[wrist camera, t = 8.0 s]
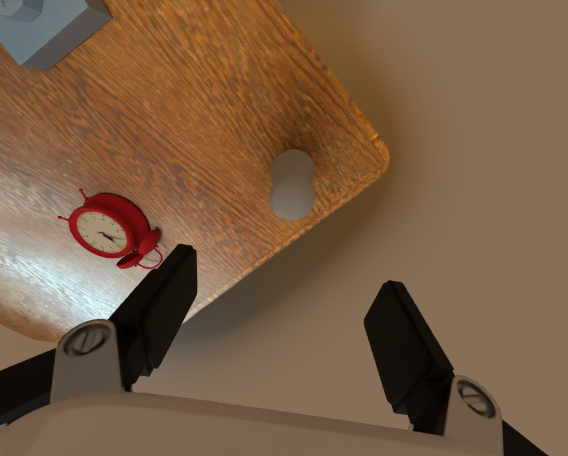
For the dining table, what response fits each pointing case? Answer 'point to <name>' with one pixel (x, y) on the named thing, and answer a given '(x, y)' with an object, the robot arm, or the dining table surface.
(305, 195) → the salt shaker
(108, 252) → the alarm clock
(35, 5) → the square base with collar
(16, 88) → the dining table surface
